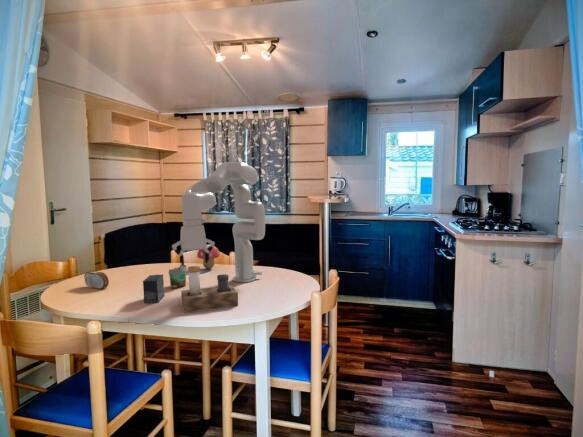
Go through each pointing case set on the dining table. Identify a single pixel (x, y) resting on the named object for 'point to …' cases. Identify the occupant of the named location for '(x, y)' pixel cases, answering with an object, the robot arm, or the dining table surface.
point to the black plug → (222, 282)
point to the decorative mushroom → (212, 254)
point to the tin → (96, 280)
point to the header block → (209, 299)
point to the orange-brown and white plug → (194, 280)
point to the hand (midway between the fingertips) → (194, 263)
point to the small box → (153, 289)
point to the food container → (178, 277)
